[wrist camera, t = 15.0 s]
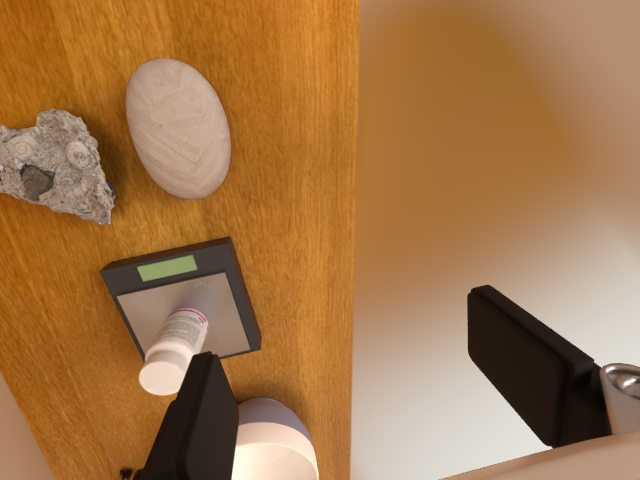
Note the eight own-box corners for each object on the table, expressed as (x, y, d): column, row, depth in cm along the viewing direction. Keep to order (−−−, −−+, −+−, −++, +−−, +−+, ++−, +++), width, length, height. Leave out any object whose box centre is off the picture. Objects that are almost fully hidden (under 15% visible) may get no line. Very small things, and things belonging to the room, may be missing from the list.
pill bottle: (159, 311, 34) (124, 364, 26) (201, 302, 35) (179, 352, 27) (174, 345, 36) (145, 404, 28) (214, 336, 36) (196, 392, 28)
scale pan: (119, 292, 34) (116, 296, 33) (226, 269, 34) (224, 272, 34) (156, 368, 38) (153, 372, 37) (251, 345, 38) (250, 349, 38)
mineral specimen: (130, 220, 34) (0, 209, 31) (127, 120, 31) (-17, 97, 28) (106, 235, 29) (-53, 223, 26) (100, 115, 26) (-81, 86, 23)
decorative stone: (240, 192, 34) (234, 201, 30) (157, 196, 33) (137, 207, 29) (225, 64, 30) (215, 51, 25) (129, 64, 29) (100, 51, 24)
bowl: (195, 387, 42) (173, 455, 33) (308, 371, 44) (316, 432, 35) (214, 464, 48) (199, 541, 39) (313, 448, 50) (322, 517, 41)
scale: (111, 262, 35) (97, 272, 32) (230, 236, 36) (226, 244, 33) (158, 362, 40) (150, 377, 38) (261, 337, 41) (260, 351, 39)
